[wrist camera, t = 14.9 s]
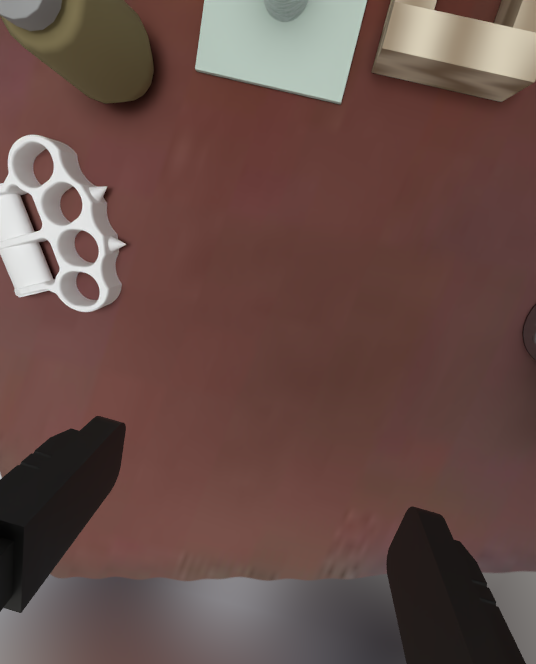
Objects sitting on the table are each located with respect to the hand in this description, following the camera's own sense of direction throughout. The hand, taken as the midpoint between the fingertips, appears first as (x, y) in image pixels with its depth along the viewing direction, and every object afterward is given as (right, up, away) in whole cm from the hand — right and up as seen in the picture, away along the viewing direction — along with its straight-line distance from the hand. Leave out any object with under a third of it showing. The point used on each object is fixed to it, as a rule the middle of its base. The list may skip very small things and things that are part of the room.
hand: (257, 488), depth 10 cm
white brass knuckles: (-23, +16, +31) cm, 42 cm away
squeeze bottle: (-13, +30, +25) cm, 41 cm away
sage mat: (+2, +34, +22) cm, 40 cm away
